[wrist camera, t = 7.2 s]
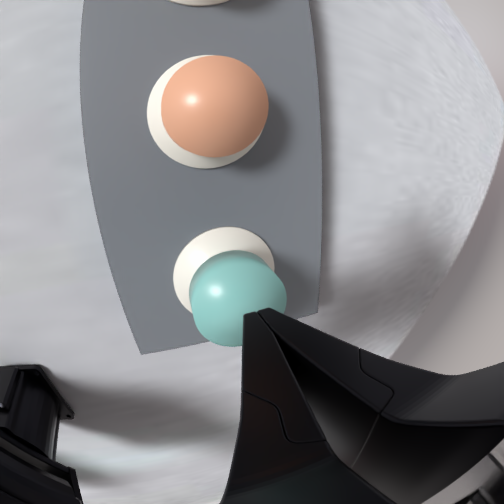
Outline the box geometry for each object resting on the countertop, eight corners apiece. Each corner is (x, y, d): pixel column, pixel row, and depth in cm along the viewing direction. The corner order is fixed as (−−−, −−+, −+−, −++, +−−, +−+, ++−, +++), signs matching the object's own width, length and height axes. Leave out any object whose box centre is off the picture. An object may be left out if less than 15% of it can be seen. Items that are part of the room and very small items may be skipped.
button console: (300, 293, 19) (319, 314, 17) (141, 328, 17) (141, 356, 14) (279, -47, 9) (297, -66, 7) (101, -41, 7) (96, -63, 4)
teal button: (274, 314, 14) (286, 333, 13) (197, 333, 13) (202, 355, 12) (271, 242, 13) (286, 256, 11) (181, 259, 12) (184, 277, 10)
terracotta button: (258, 150, 12) (271, 152, 10) (165, 161, 11) (166, 164, 9) (252, 64, 10) (264, 55, 9) (158, 70, 9) (157, 60, 8)
